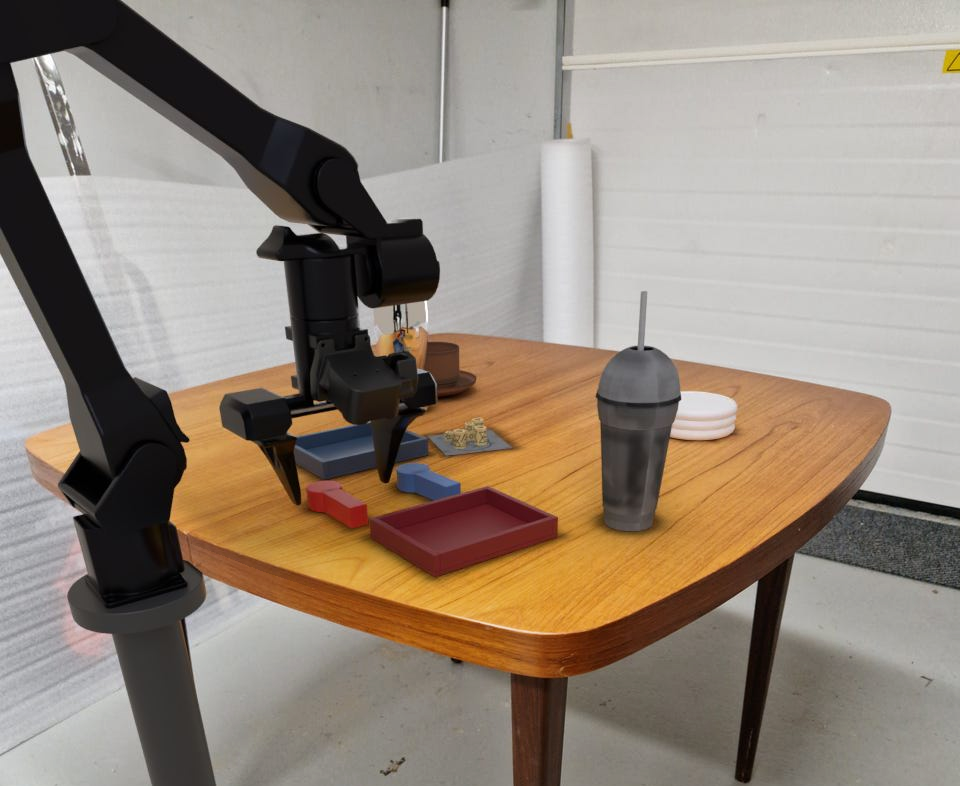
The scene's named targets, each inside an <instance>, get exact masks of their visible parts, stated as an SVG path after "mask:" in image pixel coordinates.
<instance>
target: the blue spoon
mask: <svg viewBox="0 0 960 786" xmlns="http://www.w3.org/2000/svg"><path fill="white" fill-rule="evenodd" d="M395 473H396V489H397V490H398V491H400V492H404V493H409V494H411V493H412V494H414V493H415V494H418V495H420V496H421V497H423V498H426V499H429V500H431V501H435V500H438V499H442V498H446V497H449V496H453V495H457V494H460V493H462V492H461V490H462V487H461V485H462V484H461V482H459V481H457V480H455V479H452V478H449V477H447V476H444V475H443V474H440V473H437V472H435V471H432V470H431V468H430V466H429V465H428V464H425V463H422V462H408V463H407V462H406V463H403V464H400V465H398V466H397V467H396V468H395Z"/></svg>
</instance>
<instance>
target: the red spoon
mask: <svg viewBox="0 0 960 786" xmlns="http://www.w3.org/2000/svg"><path fill="white" fill-rule="evenodd" d="M305 491H306V500H307V506H308V510H310V511H312V512H316V513H325V514H326V515H328V516H330V517H332V518H333V519H335V520H337V521H338V522H339V523H342V524H343V525H344V526H346V527H347V528H349V529H355V528H359V527H362V526H367V525H369V518H368V517H369V516H368V506H367V505H368V504H367V503H366V502H364V501H363V500H360V498H359V499H358V498H357V497H355V496H353V495H352V494H350V493H348V492H346V491H344V489H343V486H342V484H341V482H339V481H334V480H319V481H314V482H311V483H308V484H307V485H306V487H305Z"/></svg>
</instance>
